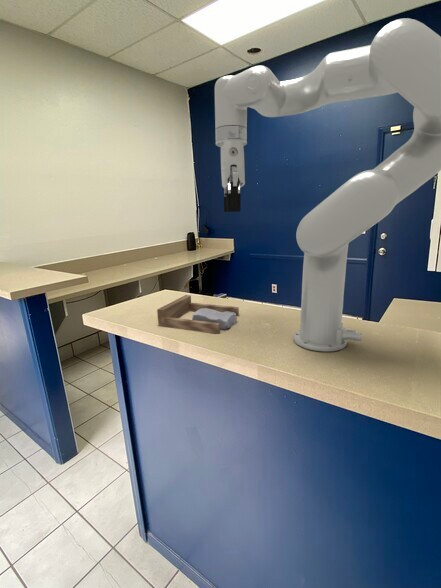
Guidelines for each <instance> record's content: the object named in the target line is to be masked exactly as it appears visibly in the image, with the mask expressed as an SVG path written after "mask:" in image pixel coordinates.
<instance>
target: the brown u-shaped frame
mask: <svg viewBox="0 0 441 588" xmlns="http://www.w3.org/2000/svg"><path fill="white" fill-rule="evenodd" d="M201 308H208V309H212V310H216V311H219V312H226V311H228V312H234V313H236V317H238V316H239V315H240V313H239V312H240V310H239V309H240V307H239V306H231V305H230V306H229V305H221V304H220V305H219V304H211V303H210V304H209V303H201V302H200V303H199V302H192V295H189V294H185V295H183V296H181V297H179V298H177V299H175V300H173V301H171V302H169V303H167V304H165V305H163V306H162V307H159V308H157V309H156V310H157V311H156V313H157V324H158V325H157V326H158V327H164V328H165V327H167V328H172V329H181V330H187V331H188V330H189V331H194V332H201V333H203V332H204V333H210V334H211V333H212V334H219V333H220V332H221V330H220V323H214V322H206V321H197V320H192V319H189V318H187V319H186V318H180V317H182V316H183V315H185V314H187V313H188V312H193V313H195V312H196V311H197V310H199V309H201Z"/></svg>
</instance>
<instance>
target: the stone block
mask: <svg viewBox="0 0 441 588" xmlns="http://www.w3.org/2000/svg"><path fill="white" fill-rule="evenodd" d="M237 317H238V316H236V313H234V312H228V311H226V312H219V311H216V310H212V309H208V308H201V309H199V310H197V311H196V312H193V313H192V318H191V320H197V321H206V322H214V323H220V331H222V330H224V331H226V330H229V329H230V327H231V326H233V325H235V324H236V323H237Z"/></svg>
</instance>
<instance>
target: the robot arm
mask: <svg viewBox="0 0 441 588" xmlns="http://www.w3.org/2000/svg"><path fill="white" fill-rule="evenodd" d="M396 93H398V94H399V95H400V96H402V97H403V98H404V100H406V101H407V102H408V103H409V104H410V105H412V107H413V110H412V111H413V112H412V113H413V114H412V120H413V128H414V129H413V133H412V134H411V137H410V138H409V139H408V141H406V142H405V143H404V144H403V145H400V147H399V148H398V149H396V150H395V151H393V153H391V154H390V155H389V156H388V157H387V158H386V159H384V160H382V161H381V163H379V164H378V165H377V166H376V167H374V168H373V169H368V170H364V171H361V172H358V173H356V174H355V175H354V176H352V177H351V178H350V179H348V180H347V181H345V183H343V184H342V185H341V186H339V187H338V188H337V189H336V190H334V192H332V193H331V194H330V195H328V197H326V198H325V199H323V200H322V201H321V202H320V203H318V204H317V205H316V206H315V207H314V208H313V209H311V211H309V212H308V213H307V214H306V215H304V216H303V218H302V219H301V220H300V222H299V224H298V226H297V227H296V228H297V229H296V235H295V238H296V242H297V245H298V247H299V248H300V250H301V251H302V252H303V264H302V280H301V281H302V282H301V302H300V303H301V305H300V326H299V327H300V329H299V330H297V331H295V332H294V333H293V341H294V342H295V344H296V345H298V346H299V347H301V348H304V349H306V350H311V351H315V352H326V353H327V352H335V351H339V350H342V349H344V348H346V346H347V345H348V340H351V341H358V342H362V336H363V335H362V332H357V330H356V329H351V328H350V329H349V328H346V327H344V322H342V321H343V309H344V296H345V295H344V294H345V283H346V273H347V271H346V270H347V262H348V261H347V260H348V252H349V243H350V242H353V241H354V240H356V238H358V237H360V236H361V235H362V234H363V233H365V232H366V231H368V230H369V229H370V228H372V227H373V226H374V225H376V224H378V223H379V222H380V221H382V220H383V219H384V218H386V217H387V216H388V215H389V214H391V212H392V211H393V209H394V208H395V206H396V205H397V204H399V203H400V202H402V201H403V200H404V199H406V198H407V197H409V196H410V195H411V194H412V193H414V192H415V191H417V190H418V189H419V188H420V187H422V186H423V185H424V184H425V183H427V182H428V181H429V180H431V179H432V178H433V177H435V176H436V175H437V174H438V173H440V172H441V36H440V35H439V34H438V33H437V32H435V31H434V30H432V29H431V28H430V27H428V26H427V25H426V24H425V23H423V22H421V21H419V20H417V19H412V18H409V17H407V18H405V17H404V18H399V19H398V18H397V19H395V20H393V21H390V22H389V23H387V24H386V25H384V26H383V27H382V28H381V29H380V30H379V31H378V32H377V34H376V35H375V36H374V38H373V39H372V41H371V43H370V44H368V45H363V46H358V47H354V48H349V49H344V50H338V51H333V52H330V53H328V54H326V56H325V57H323V58H322V60H321V61H320V62H319V64H318V65H317V66H316V68H314V69H313V70H312V71H311V72H310V73H308V74H306V75H304V76H301V77H297V78H293V79H288V80H282V81H281V80H279V79H278V78H277V77H276V75H275V74H274V73H273V72H272V70H271V69H270V68H269V67H267V66H265V65H255V66H252V67H250V68H247V69H245V70H243V71H242V72H240V73H237V74H235V75H233V74H232V75H225V76H224V75H223V76H221V77H220V78H218V79H217V80H216V82H215V84H214V120H215V121H214V122H215V125H214V126H215V146H217V147H219V148H220V170H221V171H220V174H221V175H220V176H221V187H222V188H223V189H224V191H223V212H224V213H235V212H236V213H238V212H241V210H242V209H241V207H242V205H241V204H242V203H241V200H242V199H241V196H242V194H241V188H242V187H244V186H245V184H246V180H245V179H246V177H245V173H246V171H245V151H244V147H245V146H246V145H248V141H247V139H248V135H247V134H248V132H247V129H248V128H247V127H248V124H247V123H248V108H250V109H253V110H255V111H256V112H257V113H258V114H260V115H261V116H263V117H266V118H279V117H287V116H293V115H299V114H303V113H306V112H309V111H310V112H311V111H312V110H315V109H318V108H320V107H323V106H325V105H328V104H333V103H342V102H346V101H353V100H354V101H355V100H362V99H368V98H369V99H370V98H375V97H383V96H388V95H392V94H393V95H394V94H396Z"/></svg>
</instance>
